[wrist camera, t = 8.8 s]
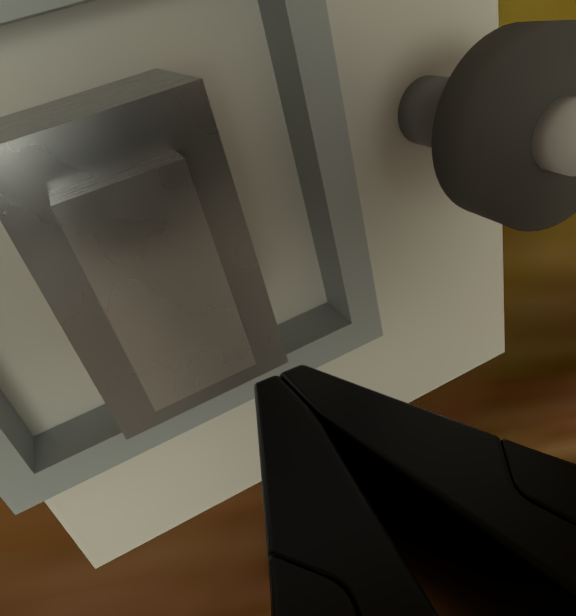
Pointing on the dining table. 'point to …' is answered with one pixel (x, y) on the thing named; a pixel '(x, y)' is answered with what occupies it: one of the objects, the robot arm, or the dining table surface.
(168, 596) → the dining table surface
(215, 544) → the dining table surface
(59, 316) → the block
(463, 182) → the wheel
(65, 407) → the chassis
